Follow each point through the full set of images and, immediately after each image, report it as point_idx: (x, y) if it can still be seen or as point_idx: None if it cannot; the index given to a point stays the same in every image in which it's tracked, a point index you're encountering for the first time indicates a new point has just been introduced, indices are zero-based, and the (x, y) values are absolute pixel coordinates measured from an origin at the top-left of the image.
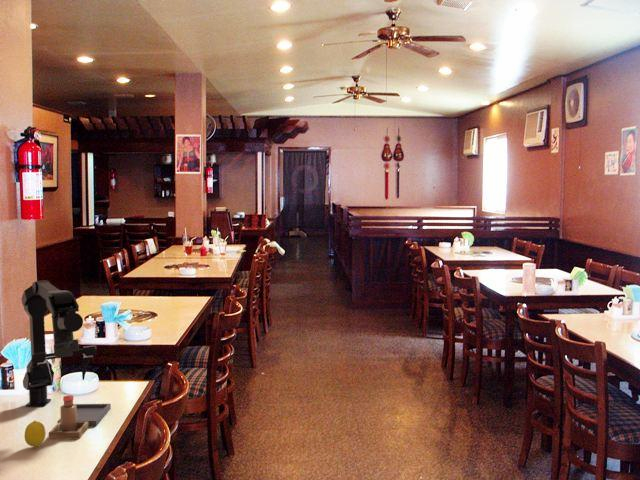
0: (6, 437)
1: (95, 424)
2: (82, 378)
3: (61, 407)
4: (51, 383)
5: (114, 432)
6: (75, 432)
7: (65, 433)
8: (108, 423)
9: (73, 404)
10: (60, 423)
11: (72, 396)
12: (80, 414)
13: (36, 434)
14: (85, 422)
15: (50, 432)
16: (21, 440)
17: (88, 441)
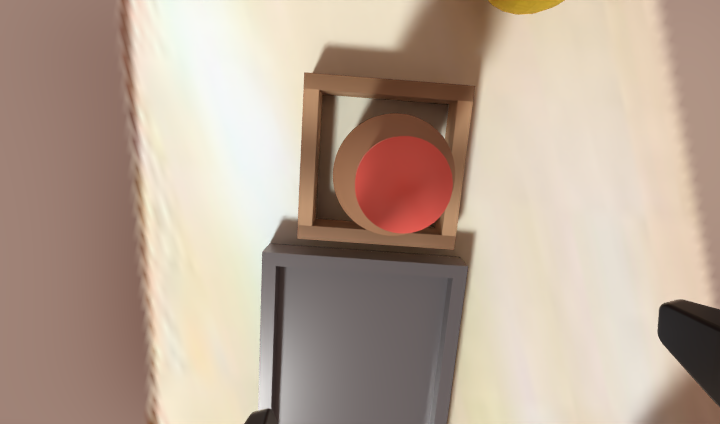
0: (678, 143)
1: (271, 246)
2: (266, 422)
3: (444, 155)
4: (682, 306)
5: (153, 151)
6: (325, 74)
7: (380, 80)
8: (220, 276)
9: (366, 217)
10: (443, 224)
11: (364, 191)
12: (381, 382)
13: None
14: (310, 224)
15: (465, 90)
16: (597, 93)
17: (252, 38)
